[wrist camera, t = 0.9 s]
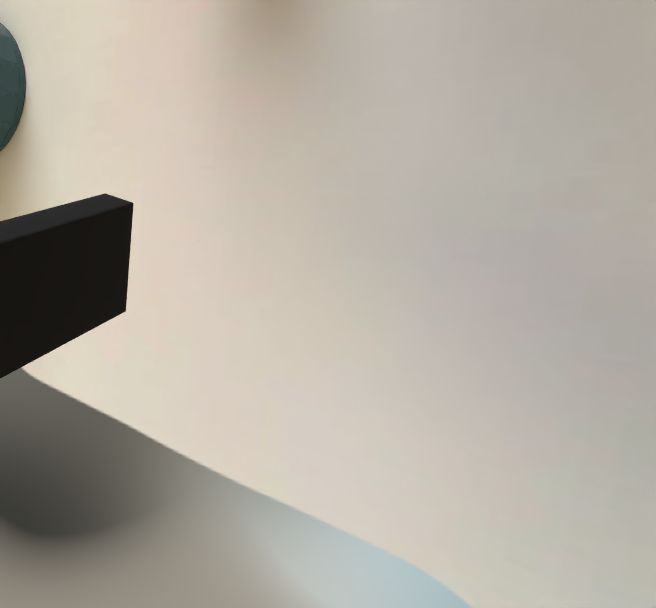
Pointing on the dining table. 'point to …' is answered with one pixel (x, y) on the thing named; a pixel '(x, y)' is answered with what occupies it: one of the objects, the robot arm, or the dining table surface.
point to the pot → (10, 86)
